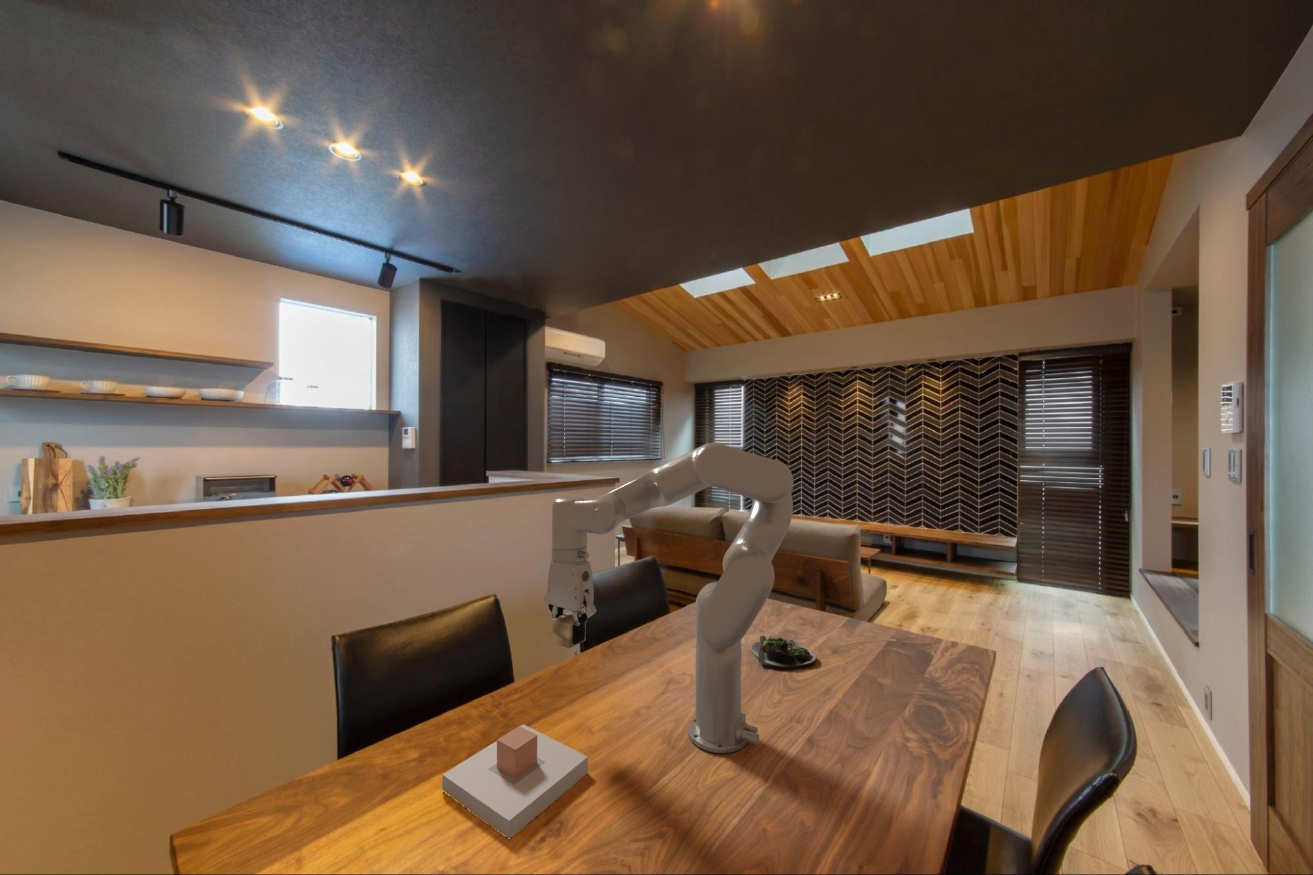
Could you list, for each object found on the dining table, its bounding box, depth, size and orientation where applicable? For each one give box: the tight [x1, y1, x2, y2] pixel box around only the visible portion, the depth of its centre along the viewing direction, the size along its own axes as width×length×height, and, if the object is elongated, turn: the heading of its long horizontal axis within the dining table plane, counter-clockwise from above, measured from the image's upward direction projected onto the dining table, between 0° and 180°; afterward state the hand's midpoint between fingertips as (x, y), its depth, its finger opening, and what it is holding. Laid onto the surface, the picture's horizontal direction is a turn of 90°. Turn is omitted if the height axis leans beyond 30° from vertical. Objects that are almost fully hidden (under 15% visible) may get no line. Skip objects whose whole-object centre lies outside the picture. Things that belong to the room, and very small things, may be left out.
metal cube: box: [551, 612, 587, 649], centre depth 102 cm, size 5×5×5 cm
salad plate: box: [750, 635, 817, 671], centre depth 138 cm, size 19×18×5 cm
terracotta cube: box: [496, 725, 537, 779], centre depth 86 cm, size 5×5×5 cm
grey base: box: [441, 724, 589, 839], centre depth 86 cm, size 18×18×3 cm
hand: (569, 637), depth 102 cm, fingers closed on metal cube, 5 cm apart
